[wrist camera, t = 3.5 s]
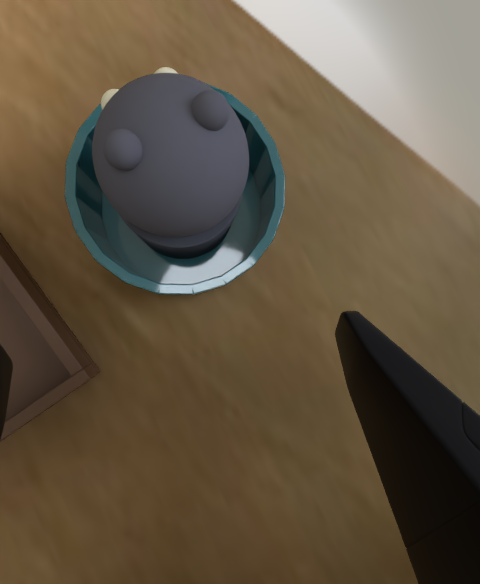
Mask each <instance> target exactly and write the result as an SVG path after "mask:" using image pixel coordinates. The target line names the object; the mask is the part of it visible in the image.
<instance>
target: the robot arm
mask: <svg viewBox="0 0 480 584" xmlns="http://www.w3.org/2000/svg"><path fill="white" fill-rule="evenodd" d="M335 337H336V342H337V346H338V350H339V354H340V358H341V363H342V367H343V371H344V375H345V379H346V383H347V387H348V390H349V393H350V396H351V399H352V401H353V404H354V407H355V410H356V412H357V415H358V418H359V421H360V423H361V426H362V429H363V432H364V434H365V437H366V440H367V442H368V445H369V448H370V451H371V453H372V456H373V459H374V462H375V464H376V467H377V470H378V473H379V475H380V478H381V481H382V484H383V486H384V489H385V492H386V495H387V497H388V500H389V503H390V506H391V508H392V511H393V514H394V517H395V519H396V522H397V525H398V528H399V530H400V533H401V536H402V539H403V541H404V544H405V547H406V548H407V549H406V550H407V553H408V556H409V558H410V561H411V564H412V567H413V569H414V572H415V575H416V578H417V580H418V583H419V584H480V415H478V414H477V413H476V412H475V411H474V410H472V409H471V408H470V407H469V406H468V405H467V404H465V403H462V401H461V399H459V398H458V397H457V396H456V395H455V394H454V393H452V392H451V391H450V390H449V389H448V388H447V387H445V386H444V385H443V384H442V383H441V382H440V381H438V380H437V379H436V378H435V377H434V376H433V375H431V374H430V373H429V372H428V371H427V370H426V369H424V368H423V367H422V366H421V365H420V364H419V363H417V362H416V361H415V360H414V359H413V358H412V357H410V356H409V355H408V354H407V353H406V352H404V351H403V350H402V349H401V348H400V347H399V346H397V345H396V344H395V343H394V342H393V341H392V340H390V339H389V338H388V337H387V336H386V335H385V334H383V333H382V332H381V331H380V330H379V329H378V328H376V327H375V326H374V325H373V324H372V323H371V322H369V321H368V320H367V319H366V318H365V317H364V316H362V315H361V314H360V313H359V312H357V311H346V312H343V313H341V315H340V318H339V321H338V324H337V327H336V331H335ZM12 371H13V363H12V360H11V358H10V357H9V355H8V354H7V353H6V351H5V350H4V348H3V347H2V345H1V344H0V440H1V436H2V432H3V428H4V424H5V418H6V412H7V406H8V399H9V392H10V385H11V378H12Z"/></svg>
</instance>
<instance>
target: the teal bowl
mask: <svg viewBox="0 0 480 584" xmlns="http://www.w3.org/2000/svg"><path fill="white" fill-rule="evenodd" d="M203 83H204V82H203ZM205 84H206V83H205ZM206 85H208V84H206ZM208 86H210V87H211V88H213V89H214V90H215V91H218V92H219V93H221V94H222V95H223V96H224V97H225V98H226V100H227V102H228V103H229V105H230V106H231V107H232V109H233V110H234V111H235V113H236V115H237V117H238V118H239V120H240V122H241V124H242V127H243V129H244V132H245V135H246V139H247V143H248V150H249V170H248V177H247V181H246V185H245V188H244V190H243V193H242V199H241V202H240V206H239V208H238V211H237V213H236V215H235V218H234V220H233V222H232V224H231V227H230V229H229V231H228V233H227V235H226V236H225V238H224V239H223V240H222V242H221V243H220V244H219V245H218V246H217V247H215V248H214V249H213V250H212V251H210V252H208V253H206V254H204V255H202V256H199V257H195V258H190V259H177V258H171V257H167V256H164V255H162V254H160V253H158V252H156V251H154V250H153V249H152V248H150V247H149V246H148V245H147V244H146V243H145V242H144V241H143V240H142V239H141V238H140V237H139V236H138V235H137V234H136V233H135V232H134V231H133V230H132V229H131V228H129V227H128V226H127V224H126V223H125V222H124V221H123V219H122V218H121V216H120V215H119V213H118V212H117V211H116V210H115V209H114V208H113V206H112V205H111V204H110V202H109V201H108V200H107V198H106V196H105V195H104V193H103V191H102V190H101V187H100V185H99V183H98V180H97V177H96V174H95V170H94V165H93V158H92V143H93V135H94V130H95V127H96V123H97V120H98V118H99V116H100V113H101V112H102V107H101V104H99V105H98V107H97V108H96V109H95V110H94V111H93V113H92V114H91V115H90V116H89V117H88V119H87V120H86V121H85V122H84V123H83V125H82V126H81V127H80V128H79V130H78V132H77V134H76V137H75V139H74V142H73V145H72V147H71V150H70V153H69V155H68V158H67V161H66V175H65V200H66V203H67V206H68V210H69V213H70V216H71V219H72V223H73V226H74V229H75V231H76V234H77V235H78V236H79V238H80V239H81V241H82V242H83V243H84V245H85V246H86V248H87V249H88V250H89V252H90V253H91V255H92V256H93V257H94V259H95V260H96V261H97V262H98V263H99V264H101V265H102V266H103V267H105V268H106V269H107V270H109V271H110V272H111V273H113V274H114V275H115V276H117V277H118V278H119V279H121V280H122V281H123V282H126V283H128V284H131V285H133V286H136V287H139V288H142V289H145V290H148V291H151V292H154V293H157V294H166V295H197V294H200V293H203V292H207V291H210V290H214V289H217V288H220V287H222V286H225V285H227V284H228V283H230V282H231V281H233V280H234V279H235V278H237V277H238V276H240V275H241V274H243V273H244V272H246V271H247V270H248V269H250V268H251V267H253V266H254V265H255V263H256V262H257V261H258V259H259V258H260V257H261V256H262V254H263V253H264V252H265V250H266V249H267V248H268V246H269V245H270V244H271V242H272V241H273V239H274V237H275V234H276V231H277V228H278V225H279V222H280V219H281V217H282V214H283V211H284V198H285V176H284V175H285V174H284V171H283V167H282V164H281V160H280V157H279V154H278V150H277V147H276V144H275V142H274V140H273V139H272V137H271V136H270V134H269V133H268V131H267V130H266V128H265V127H264V125H263V124H262V122H261V121H260V119H259V118H258V116H256V114H255V113H254V112H252V111H251V110H250V109H249V108H247V107H246V106H245V105H244V104H243V103H241V102H240V101H239V100H238V99H236V98H235V97H234V96H233V95H232V94H230V93H228V92H226V91H223V90H221V89H218V88H216V87H213V86H211V85H208Z"/></svg>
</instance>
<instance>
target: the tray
mask: <svg viewBox="0 0 480 584" xmlns="http://www.w3.org/2000/svg"><path fill="white" fill-rule="evenodd" d="M0 344H1V345H2V347H3V348H4V350H5V351H6V353H7V354H8V355H9V357H10V358H11V360H12V363H13V371H12V378H11V385H10V392H9V399H8V406H7V412H6V418H5V424H4V428H3V432H2V436H1V440H0V441H2V440H3V439H5V438H6V437H7V436H9V435H10V434H12V433H13V432H15V431H16V430H18V429H19V428H21V427H22V426H23V425H25V424H26V423H28V422H29V421H31V420H32V419H34V418H35V417H36V416H38V415H39V414H41V413H42V412H44V411H45V410H47V409H48V408H49V407H51V406H52V405H54V404H55V403H57V402H58V401H60V400H61V399H62V398H64V397H65V396H67V395H68V394H70V393H71V392H73V391H74V390H75V389H77V388H78V387H80V386H81V385H83V384H84V383H86V382H87V381H88V380H90V379H91V378H93V377H94V376H95V375H97V374H98V373H99V372H100V371H99V369H98V368H97V367H96V365H95V364H94V362H93V361H92V360H91V358H90V357H89V356H88V354H87V353H86V351H85V350H84V349H83V347H82V346H81V344H80V343H79V342H78V340H77V339H76V338H75V336H74V335H73V333H72V332H71V331H70V329H69V328H68V326H67V325H66V324H65V322H64V321H63V320H62V318H61V317H60V315H59V314H58V313H57V311H56V310H55V309H54V307H53V306H52V304H51V303H50V302H49V300H48V299H47V297H46V296H45V295H44V293H43V292H42V291H41V289H40V288H39V286H38V285H37V284H36V282H35V281H34V279H33V278H32V277H31V275H30V274H29V273H28V271H27V270H26V268H25V267H24V266H23V264H22V263H21V261H20V260H19V259H18V257H17V256H16V255H15V253H14V252H13V250H12V249H11V248H10V246H9V245H8V243H7V242H6V241H5V239H4V238H3V237H2V235H1V234H0Z"/></svg>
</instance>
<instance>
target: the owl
mask: <svg viewBox="0 0 480 584" xmlns="http://www.w3.org/2000/svg"><path fill="white" fill-rule="evenodd" d="M101 107H102V112H101V113H100V116H99V118H98V120H97V123H96V127H95V130H94V135H93V143H92V158H93V165H94V170H95V174H96V177H97V180H98V183H99V185H100V187H101V190H102V191H103V193H104V195H105V196H106V198H107V200H108V201H109V202H110V204H111V205H112V206H113V208H114V209H115V210H116V211H117V212H118V213H119V215H120V216H121V218H122V219H123V221H124V222H125V223H126V224H127V226H128V227H129V228H131V229H132V230H133V231H134V232H135V233H136V234H137V235H138V236H139V237H140V238H141V239H142V240H143V241H144V242H145V243H146V244H147V245H148V246H149V247H150V248H152V249H153V250H154V251H156V252H158V253H160V254H162V255H164V256H167V257H171V258H177V259H190V258H195V257H199V256H202V255H204V254H206V253H208V252H210V251H212V250H213V249H214V248H215V247H217V246H218V245H219V244H220V243H221V242H222V240H223V239H224V238H225V236H226V235H227V233H228V231H229V229H230V227H231V224H232V222H233V220H234V218H235V215H236V213H237V211H238V208H239V206H240V202H241V199H242V193H243V190H244V188H245V185H246V181H247V177H248V170H249V150H248V143H247V139H246V135H245V132H244V129H243V127H242V124H241V122H240V120H239V118H238V117H237V115H236V113H235V111H234V110H233V109H232V107H231V106H230V105H229V103H228V102H227V100H226V98H225V97H224V96H223V95H222V94H221V93H219V92H218V91H215V90H214V89H213V88H211V87H210V86H208V85H206V84H205V83H203V82H201V81H199V80H197V79H195V78H192V77H189V76H186V75H182V74H178V73H177V72H176V71H175V70H173V69H171V68H168V67H163V68H160V69H158V70H157V71H156V72H155V73H154V74H150V75H146V76H143V77H140V78H137V79H135V80H133V81H131V82H129V83H128V84H126V85H125V86H123V87H122V88H120V89H111V90H108V91H107V92H105V94H104V95H103V97H102V99H101Z"/></svg>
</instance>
